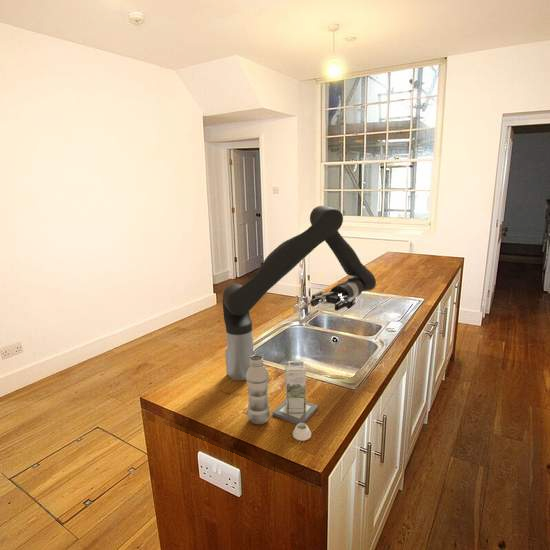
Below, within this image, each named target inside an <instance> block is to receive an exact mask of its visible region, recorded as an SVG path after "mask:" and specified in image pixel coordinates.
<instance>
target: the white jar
mask: <svg viewBox="0 0 550 550" xmlns="http://www.w3.org/2000/svg"><path fill="white" fill-rule="evenodd" d="M292 437H293V438H294V439H295V440H297V441H304V442H305V441H307V440H309V439H310V438H311V437H312V432H311V430H310V428H309V427H308V425H307V424H306V423H299V424H296V426H295V428H294V429H293V431H292Z"/></svg>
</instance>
